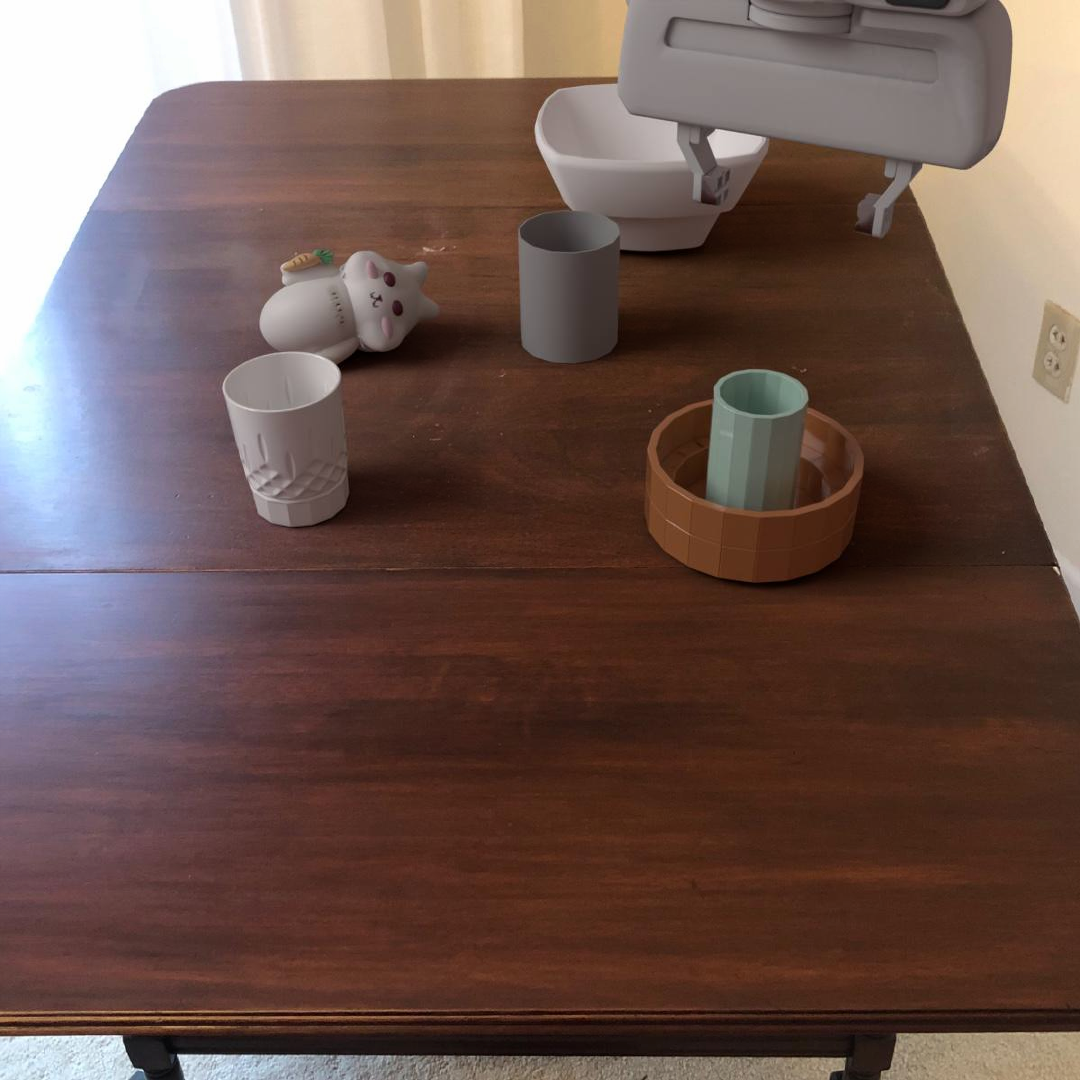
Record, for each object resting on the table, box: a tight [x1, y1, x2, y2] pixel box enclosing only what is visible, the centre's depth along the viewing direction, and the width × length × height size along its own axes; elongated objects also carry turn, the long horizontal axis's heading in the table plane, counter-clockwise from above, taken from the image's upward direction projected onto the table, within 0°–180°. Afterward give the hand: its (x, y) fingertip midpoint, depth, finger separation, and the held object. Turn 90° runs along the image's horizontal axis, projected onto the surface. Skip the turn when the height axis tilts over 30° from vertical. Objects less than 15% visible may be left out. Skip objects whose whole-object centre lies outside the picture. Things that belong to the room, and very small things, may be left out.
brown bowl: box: [643, 398, 865, 584], centre depth 83 cm, size 14×14×6 cm
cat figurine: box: [259, 248, 440, 366], centre depth 103 cm, size 10×8×15 cm
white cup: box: [222, 351, 350, 528], centre depth 85 cm, size 8×8×10 cm
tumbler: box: [704, 368, 809, 512], centre depth 82 cm, size 6×6×10 cm
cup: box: [517, 209, 621, 365], centre depth 103 cm, size 8×8×10 cm
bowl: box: [534, 83, 770, 252], centre depth 119 cm, size 22×22×12 cm
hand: (788, 216), depth 68 cm, fingers open, 8 cm apart
